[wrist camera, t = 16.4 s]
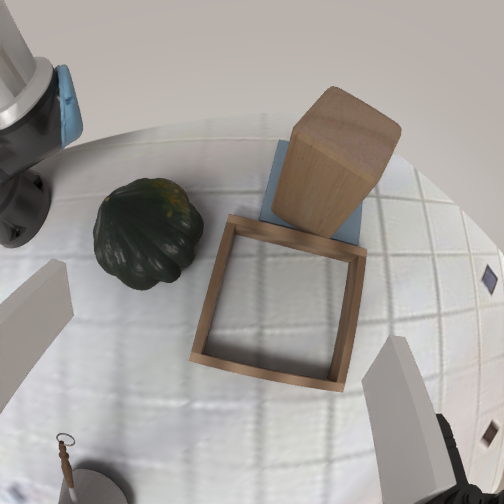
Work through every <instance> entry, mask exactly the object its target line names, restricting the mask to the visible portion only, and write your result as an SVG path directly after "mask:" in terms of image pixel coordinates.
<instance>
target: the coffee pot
mask: <svg viewBox="0 0 504 504" xmlns="http://www.w3.org/2000/svg"><path fill="white" fill-rule="evenodd" d="M59 435H67V436H70V435H69V434H65V433H60V434H58V435H57V437H56V439H57V440H58V436H59ZM70 437H71V438H72V439H73V440H74V438H73V437H72V436H70ZM58 442H59V450H60V453H59V457H60V458H61V463H62V465H61V467H62V471H63V474H64V478H63V482H62V487H61V492H60V498H59V504H128V503H127V500H126V497H125V495H124V494H123V492H122V491H121V489H120V488H119V487H118V486H117V485H116V484H115V483H114V482H113V481H111V480H110V479H109V478H108V477H106V476H104V475H102V474H101V473H99V472H96V471H93V470H87V469H76V470H72V468H71V465H70V463H69V461H68V458H69V454H68V453H67V452H66V446H73V445H74V444H75V440H74V443H73V444H71V445H67V444H64V442H63V441H59V440H58Z"/></svg>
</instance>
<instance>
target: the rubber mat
mask: <svg viewBox="0 0 504 504" xmlns="http://www.w3.org/2000/svg"><path fill="white" fill-rule="evenodd" d="M288 145H289V142H287V141H283V140H279V142H278V146H277V150H276V154H275V158H274V162H273V166H272V170H271V174H270V178H269V182H268V186H267V190H266V194H265V198H264V202H263V206H262V210H261V214H260V218H259V221H261V222H265V223H269V224H273V225H277V226H281V227H285V228H289V229H293V230H297V231H300V230H298V229H297V228H295V227H294V226H292V225H290V224H289V223H287V222H286V221H284V220H283V219H281V218H280V217H278V216H276V215H275V214H274V213H273V212H272V211H271V205H272V202H273V198H274V195H275V191H276V188H277V184H278V181H279V177H280V174H281V170H282V166H283V163H284V159H285V156H286V152H287V149H288ZM361 213H362V202H361V203H360V204H359V206H358V207H357V208H356V209H355V210H354V211H353V213H352V214H351V215H350V216H349V217H348V218H347V220H346V221H345V222H344V223H343V224H342V225H341V227H340V228H339V229H338V230H337V231H336V232H335V234H334V235H333V236H332V237H331V238H330V239H332V240H335V241H339V242H343V243H347V244H350V245H354V246H358V244H359V234H360V224H361Z"/></svg>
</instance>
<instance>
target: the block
mask: <svg viewBox="0 0 504 504" xmlns="http://www.w3.org/2000/svg"><path fill="white" fill-rule="evenodd" d="M400 136H401V127H400V126H399V125H398V124H397V123H396V122H394V121H393V120H391V119H390V118H388V117H387V116H385V115H384V114H382V113H381V112H379V111H378V110H376V109H374V108H373V107H371V106H370V105H368V104H366V103H364V102H363V101H361V100H359V99H358V98H356V97H354V96H353V95H351V94H349V93H347V92H346V91H344V90H342V89H340V88H338V87H334V86H332V87H330V88H329V89H327V90H326V91H325V92H324V94H323V95H322V96H321V97H320V98H319V99H318V100H317V101H316V102H315V104H314V105H313V106H312V107H311V108H310V109H309V110H308V111H307V112H306V114H305V115H304V116H303V117H302V118H301V119H300V120H299V122H298V123H297V124H296V125H295V126H294V127H293V131H292V135H291V138H290V142H289V145H288V149H287V152H286V156H285V159H284V163H283V166H282V170H281V174H280V177H279V181H278V184H277V188H276V191H275V195H274V198H273V202H272V205H271V211H272V212H273V213H274V214H275V215H276V216H278V217H280V218H281V219H283V220H284V221H286V222H287V223H289V224H290V225H292V226H294V227H295V228H297V229H298V230H300V231H301V232H304V233H308V234H312V235H316V236H319V237H323V238H327V239H330V238H331V237H332V236H333V235H334V234H335V232H336V231H337V230H338V229H339V228H340V227H341V225H342V224H343V223H344V222H345V221H346V220H347V218H348V217H349V216H350V215H351V214H352V213H353V211H354V210H355V209H356V208H357V207H358V206H359V204H360V203H361V202H362V201H363V200H364V198H365V197H366V196H367V195H368V194H369V192H370V191H371V190H372V189H373V188H374V186H375V185H376V184H377V183H378V182H379V180H380V178H381V176H382V174H383V172H384V170H385V168H386V166H387V164H388V162H389V160H390V158H391V156H392V153H393V151H394V149H395V147H396V144H397V143H398V141H399V139H400Z"/></svg>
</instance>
